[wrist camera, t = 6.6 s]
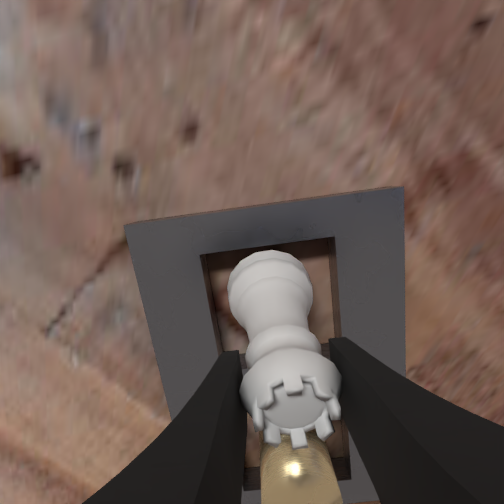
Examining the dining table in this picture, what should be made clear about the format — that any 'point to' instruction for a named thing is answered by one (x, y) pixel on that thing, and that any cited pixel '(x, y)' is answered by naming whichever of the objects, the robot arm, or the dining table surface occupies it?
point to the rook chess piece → (282, 351)
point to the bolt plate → (209, 348)
